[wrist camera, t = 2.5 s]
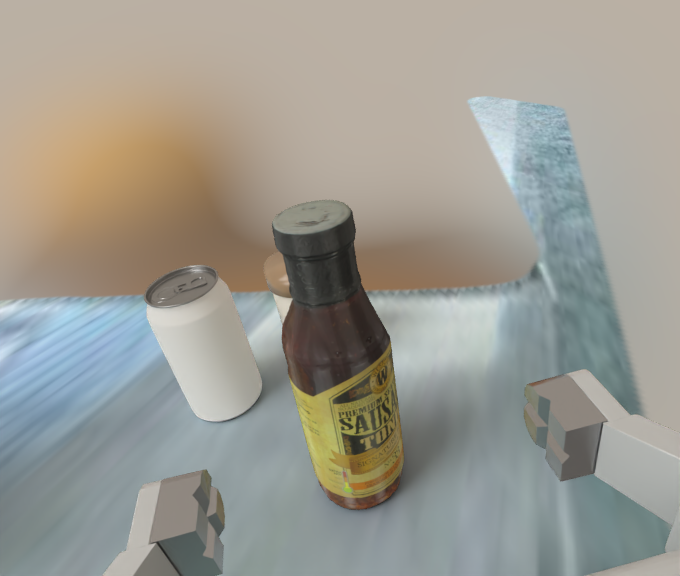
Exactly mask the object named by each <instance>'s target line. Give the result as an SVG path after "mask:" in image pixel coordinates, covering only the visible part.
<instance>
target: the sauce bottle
mask: <svg viewBox="0 0 680 576" xmlns="http://www.w3.org/2000/svg"><path fill="white" fill-rule="evenodd" d="M272 228H273V234H274V237H275V238H274V240H275V245H276V247H277V249H278V251H279V252H280V253H282V255H283V259H284V263H285V266H286V273H287V275H288V281H289V292H290V294H291V296H292V299H293V300H292V301H291V304H290V306H289V311H288V312H287V315H286V317H285V320H284V323H283V326H282V344H283V349H284V353H285V356H286V359H287V364H288V374H289V378H290V382H291V386H292V389H293V393H294V397H295V400H296V404H297V408H298V411H299V415H300V419H301V423H302V426H303V430H304V434H305V438H306V442H307V445H308V449H309V453H310V456H311V460H312V464H313V467H314V471H315V473H316V476H317V478H318V480H319V483H320V486H321V487H322V488H323V490H324V492H325V493H326V494H327V496H328V498H330V500H331V501H333V502H334V503H336V504H337V505H339V506H341V507H344V508H348V509H352V510H356V509H357V510H360V509H367V508H370V507H373V506H375V505H378V504H380V503H382V502H383V501H385V500H386V499H388V498H390V496H391V495H392V493H394V492H395V491H396V490H397V487H398V485H399V482H400V477H401V475H402V467H403V463H404V451H403V442H402V433H401V425H400V418H399V408H398V398H397V391H396V383H395V374H394V367H393V358H392V349H391V341H390V336H389V334H388V333H387V331H386V329H385V327H384V326H383V324H382V322H381V320H380V318H379V317H378V315H377V313H376V311H375V310H374V308H373V306H372V304H371V302H370V301H369V299H368V296H367V294H366V292H365V290H364V288H363V286H362V284H361V278H360V274H359V272H358V268H357V264H356V256H355V250H354V239H355V233H356V229H355V224H354V220H353V214H352V210H351V209H350V208H349V207H348V206H347V205H346V204H344V203H343V202H339V201H334V200H319V201H312V202H306V203H302V204H298V205H295V206H293V207H290V208H288V209H286V210H284V211H283V212H281V213H280V214H278V215H277V216H276V217H275V218H274V220H273V222H272Z"/></svg>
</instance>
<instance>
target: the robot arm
mask: <svg viewBox="0 0 680 576" xmlns="http://www.w3.org/2000/svg"><path fill="white" fill-rule="evenodd" d="M525 397H526V398H527V400H528V401H529V402H528V403H527V405H526V406H525V407H524V419H525V422H526V426H527V429H528V431H529V433H530V435H531V437H532V439H533V440H534V442H535V444H536V445H538V446H540V447H542V448H544V449H546V461H547V462H548V464H549V465H550V467H551V468H552V470H553V471H554V473H555V474H556V476H557V477H558V479H559V480H560V482H561V481H565V480H569V479H573V478H577V477H582V476H586V475H590V474H594V473H595V474H594V475H595V476H596V477H598V478H599V479H601V480H602V481H604V482H606V483H607V484H609V485H610V486H612V487H613V488H615V489H616V490H618V491H619V492H621V493H623V494H624V495H626V496H627V497H629V498H630V499H632V500H633V501H635V502H636V503H638V504H639V505H641V506H643V507H644V508H646V509H647V510H649V511H650V512H652V513H653V514H655V515H656V516H658V517H660V518H661V519H663V520H664V521H666V522H667V523H669V524H670V525H672V528H671V530H670V533H669V536H668V539H667V542H666V546H665V551H666V552H667V553H664V554H660V555H657V556H653V557H650V558H646V559H643V560H639V561H635V562H632V563H628V564H625V565H621V566H618V567H614V568H611V569H607V570H603V571H600V572H596V573H593V574H589V575H586V576H680V432H677V431H675V430H673V429H670V428H668V427H666V426H663V425H661V424H659V423H656V422H654V421H652V420H649V419H647V418H644V417H642V416H640V415H637V414H635V415H630V414H629V413H628V412H627V411H626V410H625V409H624V408H623V407H622V406H621V405H620V404H619V402H618V401H617V400H616V399H615V398H614V397H613V396H612V395H611V394H610V393H609V392H608V391H607V390H606V389H605V387H604V386H603V385H602V384H601V383H600V382H599V381H598V380H597V379H596V378H595V377H594V376H593V375H592V374H591V372H590V371H588V370H586V369H583V370H579V371H575V372H571V373H567V374H565V375H563V374H562V375H559V376H555V377H552V378H548V379H544V380H541V381H537V382H533V383H530V384H527V385H526V387H525ZM224 525H225V515H224V507H223V502H222V498H221V495H220V493H219V491H218V489H216V488H214V487H212V486H211V476H210V475H209V473H208V471H207V470H201V471H196V472H192V473H188V474H184V475H179V476H175V477H171V478H167V479H163V480H159V481H155V482H151V483H147V484H143V486H142V487H141V489H140V491H139V494H138V498H137V503H136V507H135V512H134V517H133V521H132V526H131V530H130V535H129V539H128V544H127V548H126V551H123V552H120V553H119V554H118V555H117V557H116V558H115V559H114V561H113V562H112V563H111V565H110V566H109V567H108V569H107V570H106V571H105V572H104V574H103V575H102V576H216V575H220V574H222V572H223V550H224V545H223V544H222V542H221V540H220V538H219V536H220V534H221V532H222V531H223V529H224Z"/></svg>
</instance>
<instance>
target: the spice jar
mask: <svg viewBox="0 0 680 576" xmlns="http://www.w3.org/2000/svg"><path fill="white" fill-rule="evenodd" d="M263 270H264V274H265V277H266V280H267V283H268V287H269V289H270V291H271V292H272V293H273V295H274V298H275V302H276V305H277V309H278V312H279V315H280V319H281V322H282V325H283V323H284V320H285V317H286V315H287V312H288V311H289V306H290V304H291V301H292V300H293V299H292V296H291V294H290V292H289V281H288V275H287V273H286V266H285V263H284V259H283V255H282V253H280V252H279V251H277V252H275V253H274V254H273V255H271V256H270V257H269V258H268V259H267V260H266V262H265V263H264V266H263Z"/></svg>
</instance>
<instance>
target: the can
mask: <svg viewBox="0 0 680 576" xmlns="http://www.w3.org/2000/svg"><path fill="white" fill-rule="evenodd" d="M144 300H145V302H146V303H147V319H148V321H149V324H150V326H151V328H152V330H153V332H154V334H155V336H156V338H157V341H158V343H159V345H160V347H161V349H162V351H163V353H164V355H165V357H166V359H167V361H168V363H169V365H170V367H171V369H172V371H173V373H174V375H175V377H176V379H177V381H178V383H179V385H180V387H181V389H182V391H183V393H184V395H185V397H186V399H187V401H188V403H189V405H190V407H191V409H192V410H193V412H194V413H195V415H196V416H197V417H199V418H200V419H203V420H206V421H212V422H222V421H227V420H231V419H234V418H236V417H238V416H240V415H242V414H243V413H245V412H246V411H247V410H249V409H250V408H251V407H252V406H253V405H254V403H255V402H256V401H257V399H258V397H259V395H260V393H261V390H262V379H261V376H260V373H259V370H258V367H257V364H256V362H255V359H254V356H253V353H252V350H251V347H250V345H249V342H248V339H247V336H246V333H245V331H244V328H243V325H242V322H241V319H240V317H239V314H238V311H237V308H236V306H235V303H234V300H233V298H232V295H231V292H230V290H229V288H228V286H227V285H226V283H225V282H224V281H223V280H222V279H220V278H219V277H218V272H217V271H216V270H215V269H214V268H212V267H210V266H206V265H193V266H187V267H182V268H179V269H176V270H173V271H171V272H169V273H167V274H165V275H163V276H161V277H159V278H158V279H157V280H155V281H154V282H153V283H152V284H151V285H150V286H149V287H148V288H147V290H146V291H145V294H144Z"/></svg>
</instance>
